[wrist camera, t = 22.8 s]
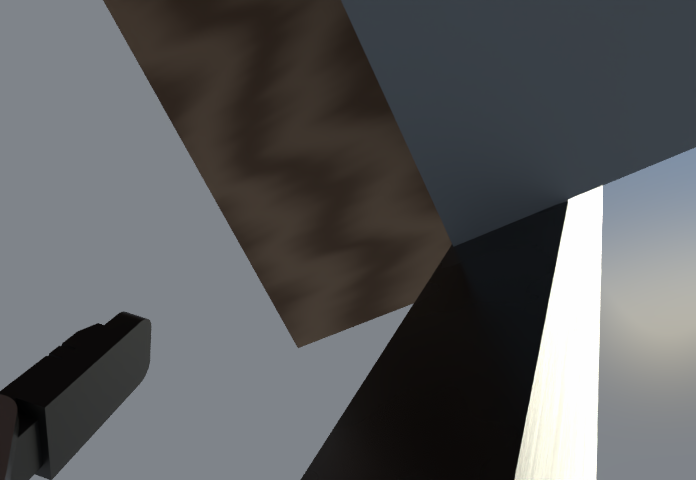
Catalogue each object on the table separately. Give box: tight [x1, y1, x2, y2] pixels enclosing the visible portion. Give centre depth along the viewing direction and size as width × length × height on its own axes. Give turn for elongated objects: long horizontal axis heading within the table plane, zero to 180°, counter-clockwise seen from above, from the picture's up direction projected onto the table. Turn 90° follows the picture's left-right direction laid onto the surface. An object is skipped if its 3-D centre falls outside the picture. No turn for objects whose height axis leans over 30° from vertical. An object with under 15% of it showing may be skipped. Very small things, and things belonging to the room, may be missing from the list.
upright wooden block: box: [103, 0, 452, 348], centre depth 31 cm, size 11×16×32 cm
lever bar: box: [301, 185, 603, 480], centre depth 15 cm, size 3×24×2 cm, turn 30°
